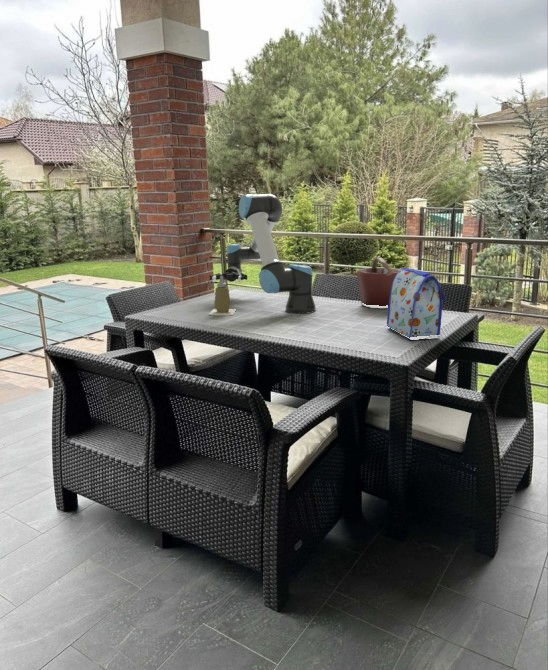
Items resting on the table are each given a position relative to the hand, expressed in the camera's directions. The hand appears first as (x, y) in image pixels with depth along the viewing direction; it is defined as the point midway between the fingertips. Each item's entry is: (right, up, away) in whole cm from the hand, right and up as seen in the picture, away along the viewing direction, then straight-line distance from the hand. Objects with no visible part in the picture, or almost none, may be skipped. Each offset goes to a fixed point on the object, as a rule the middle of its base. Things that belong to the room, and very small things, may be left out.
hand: (226, 279), depth 275 cm
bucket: (+79, -14, +4) cm, 80 cm away
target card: (-1, -17, -7) cm, 19 cm away
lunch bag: (+83, -28, -52) cm, 102 cm away
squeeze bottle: (-1, -17, -7) cm, 18 cm away
